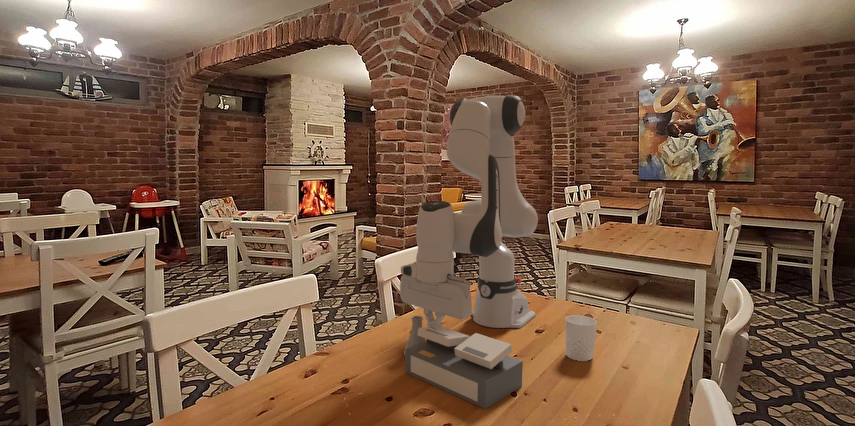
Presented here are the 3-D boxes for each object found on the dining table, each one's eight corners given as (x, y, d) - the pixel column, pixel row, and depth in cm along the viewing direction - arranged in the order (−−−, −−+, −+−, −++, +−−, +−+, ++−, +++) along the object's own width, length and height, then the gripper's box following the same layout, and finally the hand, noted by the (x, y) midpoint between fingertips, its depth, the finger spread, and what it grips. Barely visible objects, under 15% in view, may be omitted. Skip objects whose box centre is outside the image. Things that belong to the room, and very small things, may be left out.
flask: (427, 360, 119) (427, 323, 118) (400, 358, 120) (400, 321, 119) (432, 349, 126) (433, 313, 125) (407, 347, 128) (407, 312, 126)
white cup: (569, 348, 128) (571, 313, 127) (598, 355, 123) (600, 318, 122) (559, 357, 121) (561, 321, 120) (590, 365, 117) (591, 327, 116)
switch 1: (438, 332, 118) (439, 325, 118) (469, 343, 111) (470, 335, 112) (417, 335, 112) (418, 327, 113) (448, 346, 106) (449, 338, 106)
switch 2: (476, 339, 110) (475, 332, 110) (511, 351, 103) (511, 344, 103) (455, 355, 105) (454, 348, 104) (491, 369, 98) (490, 361, 97)
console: (443, 355, 122) (444, 327, 121) (521, 386, 106) (522, 354, 105) (404, 372, 112) (405, 342, 111) (484, 409, 95) (485, 374, 95)
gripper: (478, 276, 103) (477, 336, 104) (414, 262, 117) (413, 315, 118) (460, 281, 98) (459, 343, 100) (395, 266, 112) (395, 321, 114)
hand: (434, 328), depth 109 cm, fingers closed
